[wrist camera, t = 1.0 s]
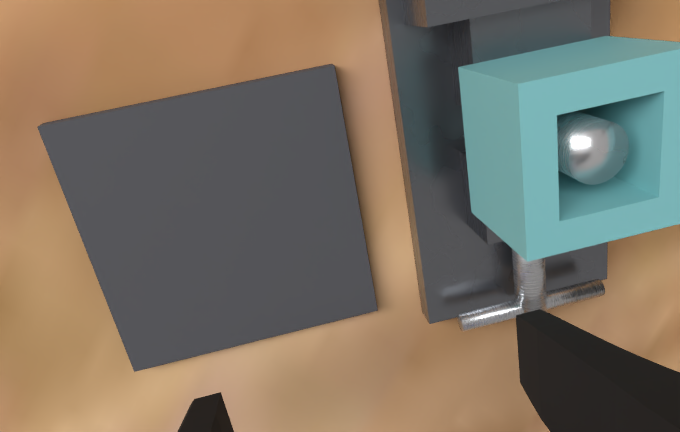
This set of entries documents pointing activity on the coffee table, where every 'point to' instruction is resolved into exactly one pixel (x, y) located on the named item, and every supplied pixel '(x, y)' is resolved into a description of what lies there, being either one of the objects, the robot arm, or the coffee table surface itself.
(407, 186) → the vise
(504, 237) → the collar
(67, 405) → the coffee table surface
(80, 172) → the mat
